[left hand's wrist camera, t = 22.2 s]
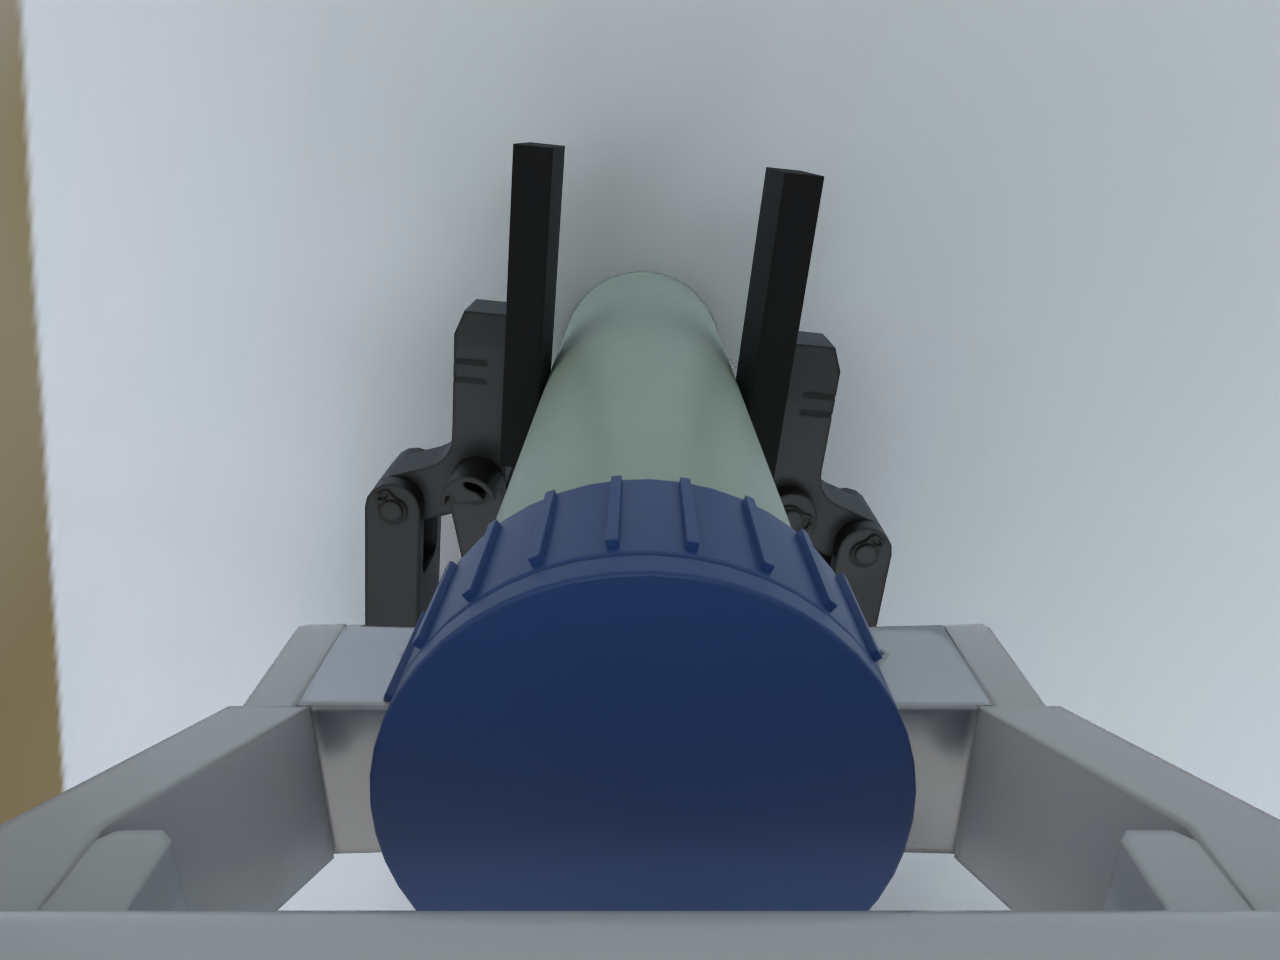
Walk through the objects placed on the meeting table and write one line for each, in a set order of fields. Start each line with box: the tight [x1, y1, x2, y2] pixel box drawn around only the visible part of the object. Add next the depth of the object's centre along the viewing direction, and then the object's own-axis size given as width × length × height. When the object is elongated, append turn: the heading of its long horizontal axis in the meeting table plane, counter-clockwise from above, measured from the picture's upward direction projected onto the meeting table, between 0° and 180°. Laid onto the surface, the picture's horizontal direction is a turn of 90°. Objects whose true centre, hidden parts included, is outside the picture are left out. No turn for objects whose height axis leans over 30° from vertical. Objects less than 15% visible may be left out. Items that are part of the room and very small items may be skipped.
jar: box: [496, 272, 791, 527], centre depth 17 cm, size 4×4×18 cm
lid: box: [370, 475, 916, 911], centre depth 9 cm, size 5×5×2 cm
